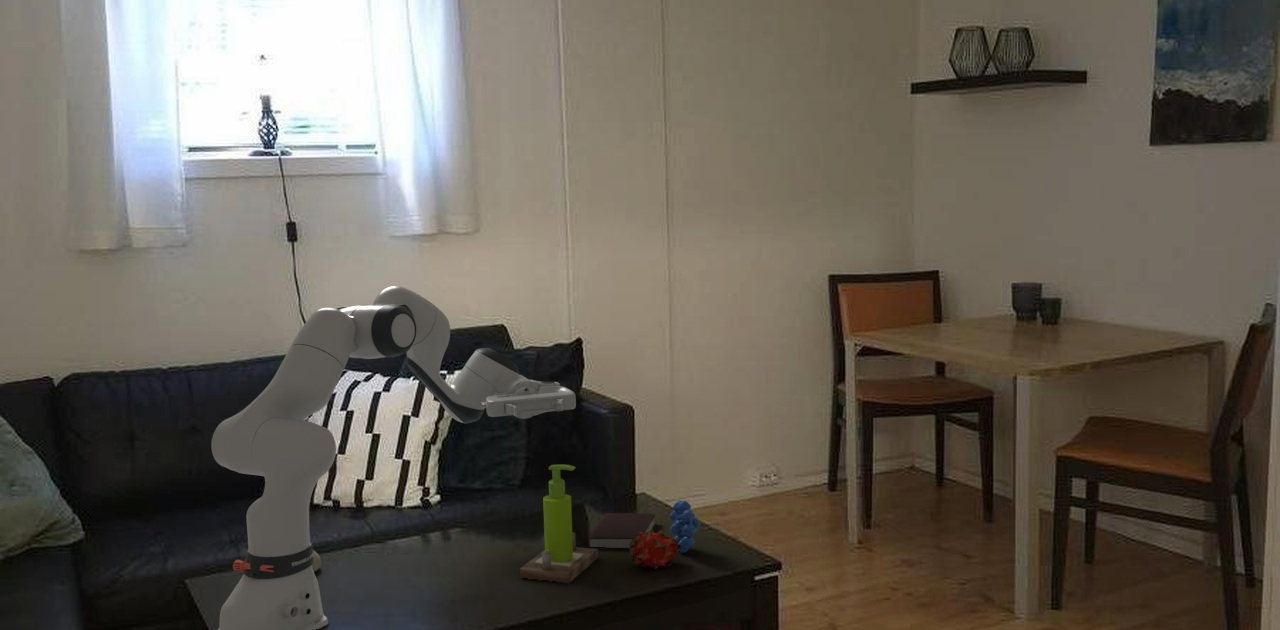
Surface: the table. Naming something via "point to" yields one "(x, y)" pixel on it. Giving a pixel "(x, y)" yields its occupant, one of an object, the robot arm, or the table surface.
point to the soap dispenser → (558, 517)
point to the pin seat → (559, 565)
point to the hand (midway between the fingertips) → (539, 409)
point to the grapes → (684, 525)
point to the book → (620, 529)
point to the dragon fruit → (653, 549)
